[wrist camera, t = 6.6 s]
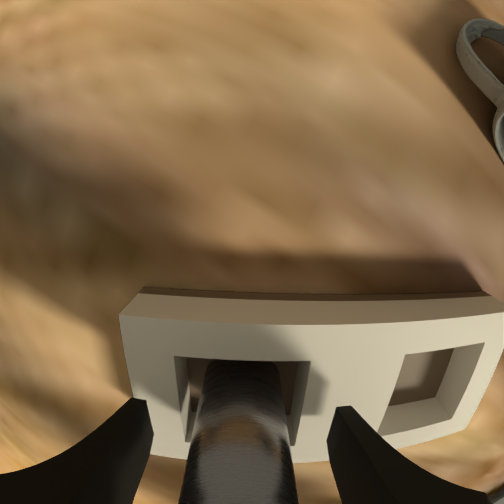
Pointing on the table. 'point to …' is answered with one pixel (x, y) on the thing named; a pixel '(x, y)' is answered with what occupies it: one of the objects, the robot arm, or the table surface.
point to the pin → (240, 438)
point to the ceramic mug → (484, 70)
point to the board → (317, 359)
